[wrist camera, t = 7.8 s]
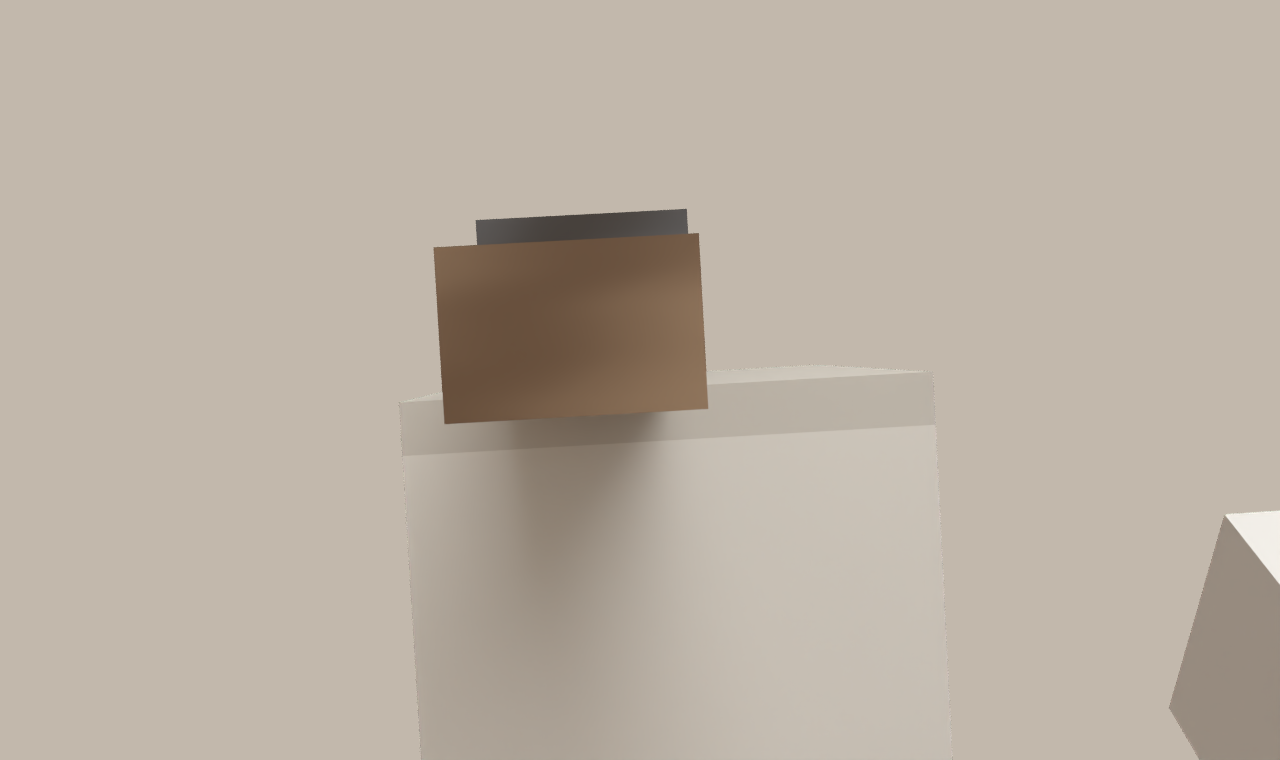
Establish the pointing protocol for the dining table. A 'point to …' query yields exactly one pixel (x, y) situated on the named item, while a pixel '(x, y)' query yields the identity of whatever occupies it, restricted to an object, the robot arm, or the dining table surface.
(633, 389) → the blocky hammer
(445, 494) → the pedestal
